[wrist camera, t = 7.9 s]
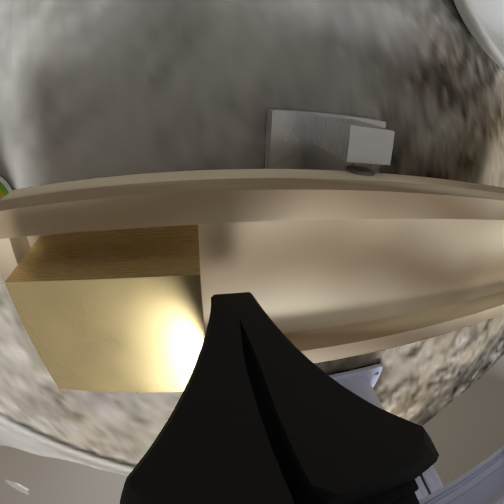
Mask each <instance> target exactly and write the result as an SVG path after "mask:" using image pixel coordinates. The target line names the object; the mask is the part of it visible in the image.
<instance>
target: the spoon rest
mask: <svg viewBox="0 0 504 504" xmlns="http://www.w3.org/2000/svg"><path fill="white" fill-rule="evenodd" d="M454 3H455V5H456V8H457V10H458V12H459V14H460V16H461V18H462V20H463V21H464V23H465V25H466V27H467V28H468V30H469V31H470V33H471V34H472V36H473V37H474V39H475V40H476V41H477V43H478V44H479V45H480V47H481V48H482V49H483V50H484V51H485V53H486V54H487V55H488V56H489V57H490V58H491V59H492V60H493V61H494V62H495V63H496V64H497V65H498V66H499V67H500V68H501V69H502V70H504V0H454Z"/></svg>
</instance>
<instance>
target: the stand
mask: <svg viewBox="0 0 504 504" xmlns="http://www.w3.org/2000/svg"><path fill="white" fill-rule="evenodd" d="M394 135H395V131H392V130H389V129H386V122H385V121H381V120H377V119H372V118H365V117H358V116H350V115H342V114H334V113H324V112H313V111H301V110H286V109H267V127H266V149H265V169H310V170H338V171H346V166H349V165H355V166H362V167H366V168H369V169H372V170H374V171H375V173H379V172H380V165H390V163H391V156H392V149H393V142H394Z"/></svg>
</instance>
